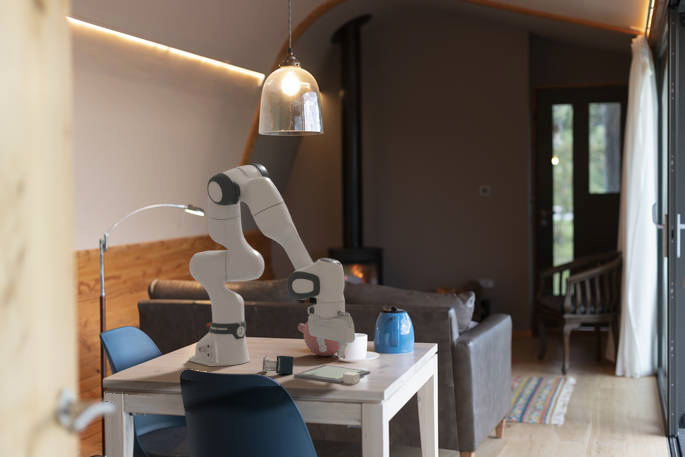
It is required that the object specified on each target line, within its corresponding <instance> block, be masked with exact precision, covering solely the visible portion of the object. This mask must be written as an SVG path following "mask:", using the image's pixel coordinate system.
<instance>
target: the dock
mask: <svg viewBox="0 0 685 457" xmlns="http://www.w3.org/2000/svg"><path fill="white" fill-rule="evenodd" d="M370 374H371V371H369V370H365V369H364V370H363V369H357V368H351V367H343V366H334V365H329V364H322V365H320V366H317V367H314V368H310V369H308V370H304V371H300V372H298V373H297V372H296V373H293V378H296V379H298V378H299V379H304V380H311V381H319V382H325V383H332V384H333V383H334V384H351V385H355V384H359V383H360V382H361V380H360V379H363V378H365V376H367V375H370Z"/></svg>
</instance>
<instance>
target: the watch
mask: <svg viewBox="0 0 685 457" xmlns="http://www.w3.org/2000/svg"><path fill="white" fill-rule="evenodd" d="M269 370H275V373H276V374H281V375H294V356H293V355H292V356H291V355H276V360H270V358H269V357H268V355H265V356H263V360H262V373H268V371H269Z"/></svg>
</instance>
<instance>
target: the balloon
mask: <svg viewBox="0 0 685 457" xmlns="http://www.w3.org/2000/svg"><path fill="white" fill-rule="evenodd" d="M297 329H298V331H299V332H301V333H302V334H303V340H304V342H305V345H306V347H307V348H308V349H309V350H310V352H312V353H314V354H315V355H318V356H321V357H330V356H333V355H335V354H336V355H337V350H339V347H340V345H339V342H337V341H332V340H328V339H325V340H324V343H325V346H326V349H327V350H326V351H325V352H322V351H320V350H319V344H318V342H317V337H315V336H311V335H310V333H309V329H308V321H307V322H305V324H304V323H301V322H300V323H299V324H298V325H297Z"/></svg>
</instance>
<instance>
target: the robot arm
mask: <svg viewBox="0 0 685 457" xmlns="http://www.w3.org/2000/svg"><path fill="white" fill-rule="evenodd" d="M206 185H207V190H206V191H207V194H208V196H207V221H208V222H207V223H208V234H209V236H210V238H211V240H212V241H214V242H215V243H217V244H219V245H222V246H224V247H225V248H226V249H224V250H205V251H201V252H196V253H195V254H193V256H192V257H191V258H190V260H189V266H188V267H189V268H188V269H189V273H190V275H191V277H192V278H193V279H194V280H195V281H196V282H197V283H199V284H200V285H201V286H202V287H203V288H204V289H205V291H206V293H207V294H208V297H209V300H210V303H211V313H212V314H211V316H212V318H211V319H212V321H211V322H208V323H206V325H207V326H206V327H207V328H209V329H208V333H206V334H205V335H204V336H203V337H202V338H201V339H200V340H199V341H198V342H196V344H195V350H194V352H195V353H194V354H193V355H192V356H190V357H188V361H189V362H192V363H196V364H200V365H204V366H207V367H219V366H221V367H222V366H223V367H224V366H236V365H243V364H246V363H249V362H250V361H251V358H250V354H249V350H248V344H247V343H248V342H247V337H246V331H247V327H246V326H247V323H246V320H245V303H244V302H245V300H244V299H243V297H242V296H241V295H240V294H239V293H237V292H235V291H234V290H230V289H229V288H228V287H227V285H226V283H230V282H231V283H234V282H250V281H253V280H254V281H255V280H257V279H259V278H260V277H261V276H262V275H263V274H264V271H265V261H264V257H263V256H262V254H261V253H260V252H259V251H257V250H256V249H254V248H253V247H252V246H251V245H250V244H249V243H248V242H247V239H246V238H245V236H244V232H243V228H242V227H243V226H242V217H241V216H242V214H241V202H243V203H245V204H246V205H247V206H248V208H249V211H250V214H251V215H252V218H253V220H254V222H255V224H256V226H257V228H258V229H259V230H260V232H261V233H262V235H264V236H265V237H267V238H269V239H272V240H273V241H275V242H277V243H278V244H279V245H281V247H282V248H283V249H284V250H285V251H284V252H286V254H287V257H288V258H289V260H290V261H291V264H292V266H293V268H294V269H295V270H294V271H293V272H292V273H290V275H289V276H288V277H287V279H286V283H285V284H286V291H287V292H288V294H289V295H290V296H291V297H292V298H293V299H295V300H301V301H304V300H308V299H311V298H315V299H316V303H315V304H313V305H311V306H309V307H307V314H308V317H307V318H308V320H307V322H308V329H309V333H310V335H311V336H315V337H317V342H318V344H319V350H320V351H322V352H325V351H326V350H327V349H326V346H325V343H324V340H325V339H328V340H332V341H337V342H339V345H340V347H339V350H337V353H336V355H337V356H338V357H344V356H345V350H346V348H347V346H348V344H352V343H354V342H355V339H356V334H355V333H356V331H355V324H354V320H353V317H352V316H351V315H350V313H349V312H346V301H345V296H344V290H345V273H344V268H343V264H342V263H341V262H340V261H339V260H336V259H333V258H328V257H321V258H319V259H317V260H316V261H314V260H313V259H312V257H311V254H310V253H309V250H307V247H306V245H305V244H304V242H303V240H302V237H300V235H299V233H298V231H297V228H296V226H295V224H294V222H293V220H292V216H291V214H290V211H289V209H288V206H287V204H286V203H285V201H284V198H283V197H282V194H280V191H279V190H278V188H277V187H276V185H275V184H274V182H273V181H272V179H271V178H270V174H269V172H268V170H267V169H266V167H265V166H264V165H262V164H261V163H248V164H247V165H246V164H245V165H241V166H240V165H239V166H237V167H233V168H230V169H228V170H225V171H224V172H220V173H219V172H218V173H217V174H215V175H213V176H212V177H210V178H209V180H208V181H207V184H206Z"/></svg>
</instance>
